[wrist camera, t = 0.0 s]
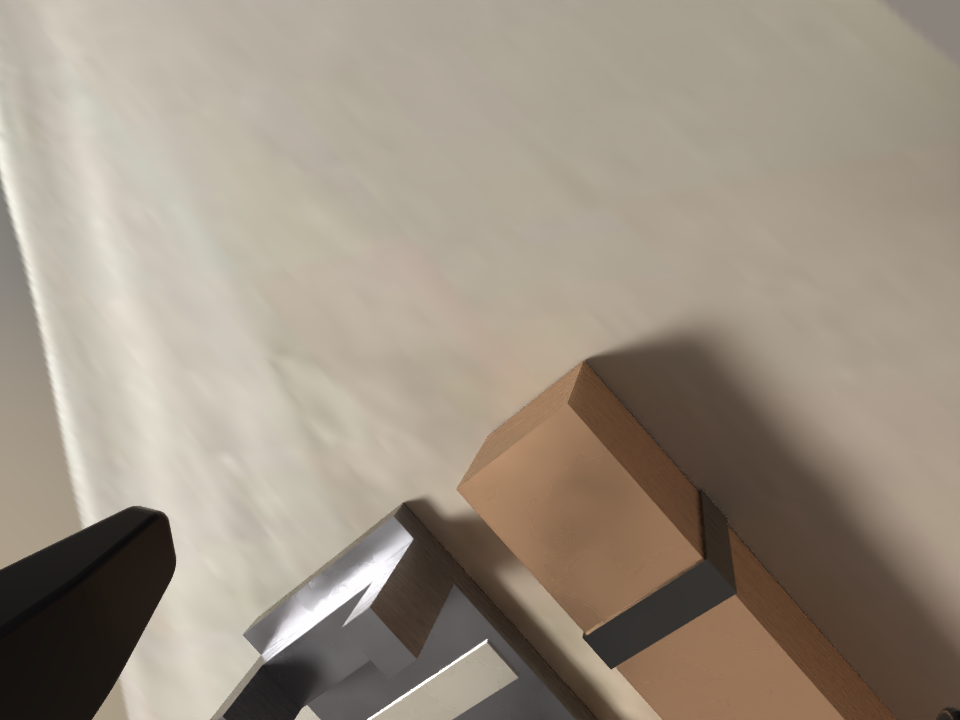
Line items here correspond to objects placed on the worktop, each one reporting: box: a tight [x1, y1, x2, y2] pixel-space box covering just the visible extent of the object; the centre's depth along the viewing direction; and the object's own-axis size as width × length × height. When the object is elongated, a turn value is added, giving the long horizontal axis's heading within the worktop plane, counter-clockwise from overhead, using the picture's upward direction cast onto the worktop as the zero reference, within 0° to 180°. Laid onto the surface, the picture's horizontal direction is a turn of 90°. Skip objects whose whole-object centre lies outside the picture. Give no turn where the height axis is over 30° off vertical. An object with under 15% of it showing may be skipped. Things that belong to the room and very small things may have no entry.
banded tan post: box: [456, 360, 897, 720], centre depth 23 cm, size 4×18×4 cm, turn 42°
